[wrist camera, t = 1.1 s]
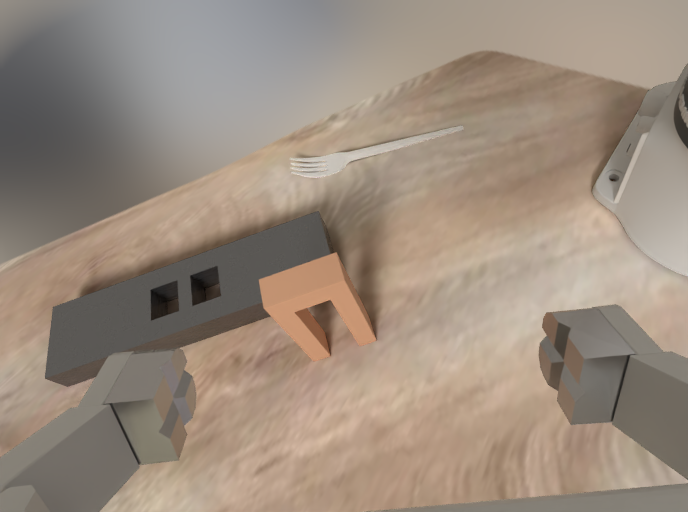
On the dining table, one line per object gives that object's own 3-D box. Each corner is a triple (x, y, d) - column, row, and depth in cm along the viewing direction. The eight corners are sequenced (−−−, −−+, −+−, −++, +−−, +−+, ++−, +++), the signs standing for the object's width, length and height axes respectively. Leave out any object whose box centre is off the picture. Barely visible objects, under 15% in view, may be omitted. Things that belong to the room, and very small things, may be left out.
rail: (73, 318, 52) (53, 307, 50) (326, 227, 50) (318, 211, 48) (67, 386, 48) (44, 378, 45) (344, 290, 46) (336, 276, 43)
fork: (468, 142, 52) (468, 130, 51) (296, 186, 54) (291, 175, 53) (460, 122, 54) (460, 110, 52) (293, 165, 56) (289, 155, 55)
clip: (308, 337, 44) (258, 279, 34) (369, 317, 44) (336, 252, 34) (314, 361, 43) (263, 308, 33) (376, 340, 42) (344, 280, 32)
